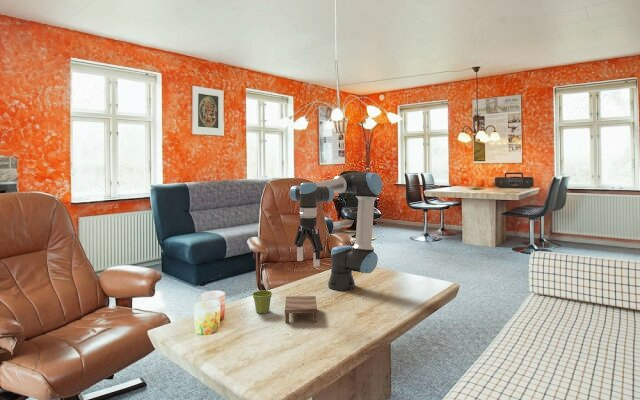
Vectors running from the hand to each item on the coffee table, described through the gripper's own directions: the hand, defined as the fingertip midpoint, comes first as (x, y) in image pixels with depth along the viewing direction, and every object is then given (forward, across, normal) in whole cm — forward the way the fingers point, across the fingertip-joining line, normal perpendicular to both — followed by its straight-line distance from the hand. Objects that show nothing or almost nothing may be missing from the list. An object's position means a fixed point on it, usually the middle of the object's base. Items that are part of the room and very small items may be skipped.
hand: (308, 263), depth 182 cm
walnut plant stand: (+24, -1, -3) cm, 24 cm away
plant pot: (+24, -16, -15) cm, 33 cm away
